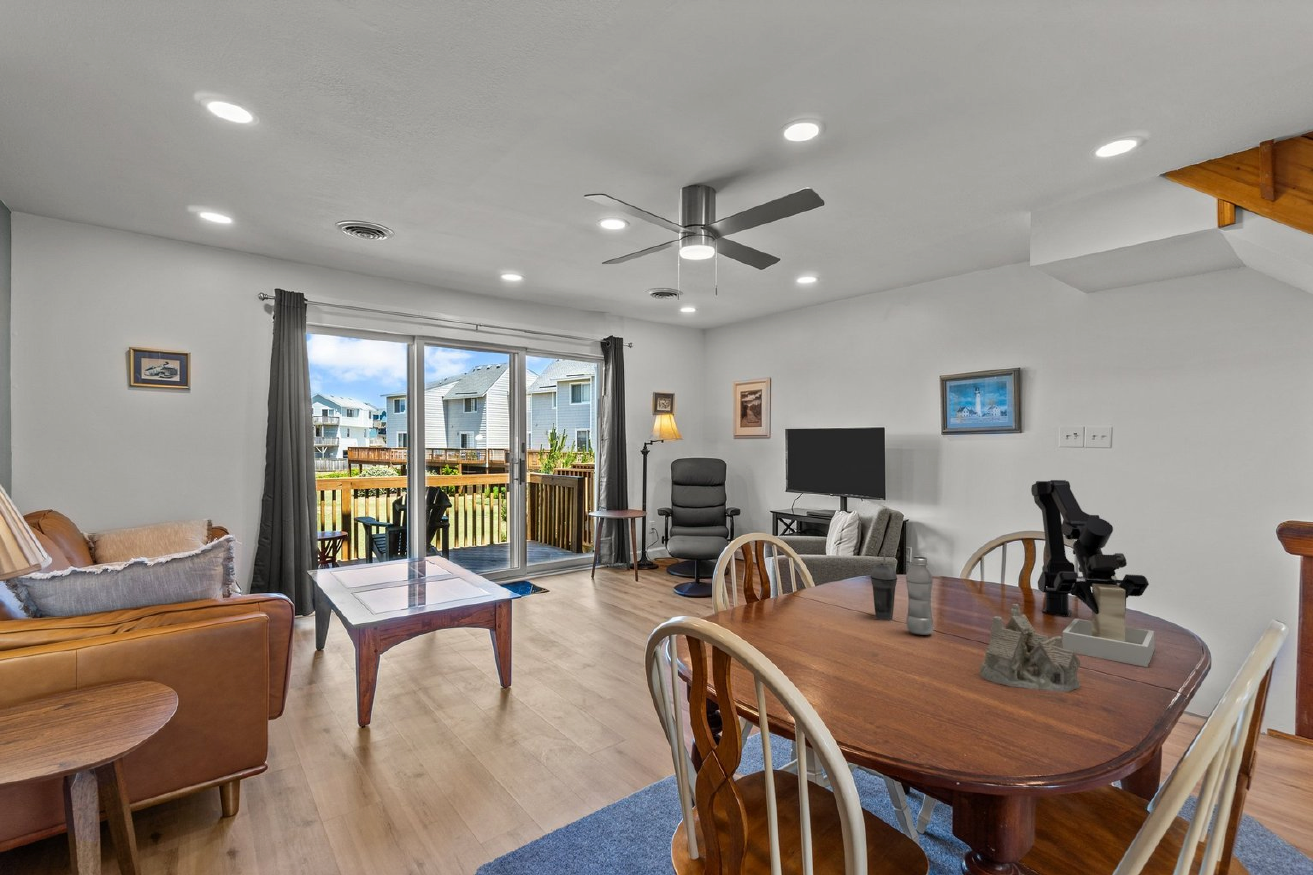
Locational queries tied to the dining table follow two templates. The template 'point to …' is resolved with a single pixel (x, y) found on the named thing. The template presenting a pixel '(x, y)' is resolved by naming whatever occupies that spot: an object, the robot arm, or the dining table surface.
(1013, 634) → the ceramic cottage
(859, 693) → the dining table surface
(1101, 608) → the birch block
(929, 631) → the plastic bottle
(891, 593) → the beverage cup
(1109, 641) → the box
